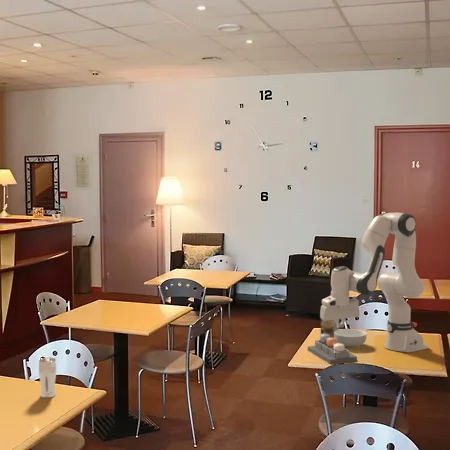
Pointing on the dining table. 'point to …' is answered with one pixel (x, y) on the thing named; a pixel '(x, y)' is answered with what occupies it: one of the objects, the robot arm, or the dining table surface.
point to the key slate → (324, 338)
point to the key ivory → (338, 347)
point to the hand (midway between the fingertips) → (340, 327)
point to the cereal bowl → (350, 337)
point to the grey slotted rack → (331, 353)
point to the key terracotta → (331, 342)
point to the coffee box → (328, 327)
